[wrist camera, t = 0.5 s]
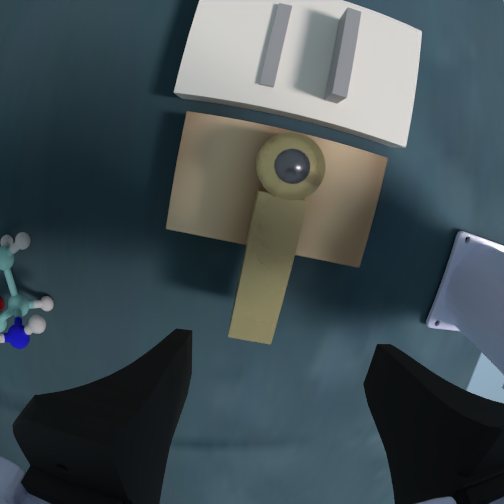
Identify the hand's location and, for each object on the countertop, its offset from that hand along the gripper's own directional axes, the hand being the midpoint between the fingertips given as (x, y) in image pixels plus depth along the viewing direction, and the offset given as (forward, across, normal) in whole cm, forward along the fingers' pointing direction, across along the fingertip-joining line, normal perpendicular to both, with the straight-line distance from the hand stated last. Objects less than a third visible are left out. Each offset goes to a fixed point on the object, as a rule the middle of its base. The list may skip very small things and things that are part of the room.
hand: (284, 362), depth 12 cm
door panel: (+10, 0, -14) cm, 17 cm away
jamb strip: (+10, 0, -6) cm, 12 cm away
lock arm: (+8, +1, -3) cm, 9 cm away
